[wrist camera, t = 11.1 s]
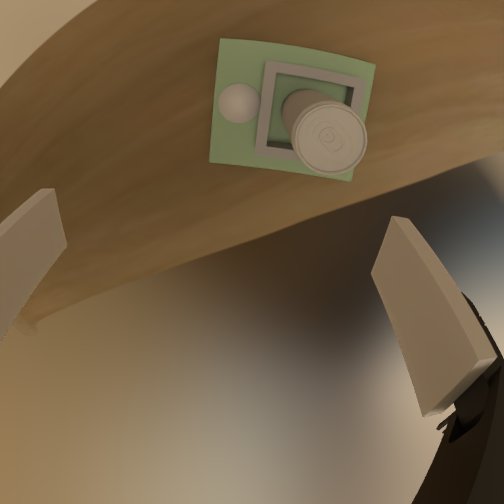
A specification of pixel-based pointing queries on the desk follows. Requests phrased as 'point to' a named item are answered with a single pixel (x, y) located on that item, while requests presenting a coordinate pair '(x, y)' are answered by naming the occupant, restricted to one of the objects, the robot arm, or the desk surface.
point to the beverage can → (323, 131)
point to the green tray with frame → (276, 99)
